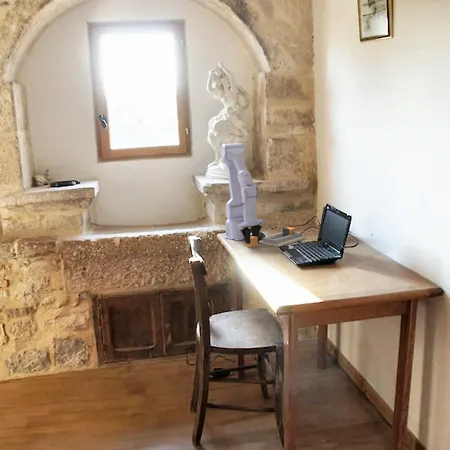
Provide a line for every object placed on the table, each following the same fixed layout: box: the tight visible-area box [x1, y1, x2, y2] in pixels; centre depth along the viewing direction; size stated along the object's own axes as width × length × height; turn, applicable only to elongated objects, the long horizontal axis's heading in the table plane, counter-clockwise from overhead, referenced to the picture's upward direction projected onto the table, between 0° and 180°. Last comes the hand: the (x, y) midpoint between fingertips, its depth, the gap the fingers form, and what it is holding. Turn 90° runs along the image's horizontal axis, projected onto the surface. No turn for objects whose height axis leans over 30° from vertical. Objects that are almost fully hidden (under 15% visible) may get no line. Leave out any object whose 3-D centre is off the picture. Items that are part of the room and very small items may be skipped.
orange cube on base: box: [243, 235, 259, 248], centre depth 264 cm, size 4×5×4 cm
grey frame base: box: [258, 226, 306, 248], centre depth 270 cm, size 12×18×5 cm, turn 134°
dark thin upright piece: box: [317, 206, 327, 243], centre depth 269 cm, size 2×24×15 cm, turn 163°
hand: (251, 242), depth 264 cm, fingers closed on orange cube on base, 4 cm apart
